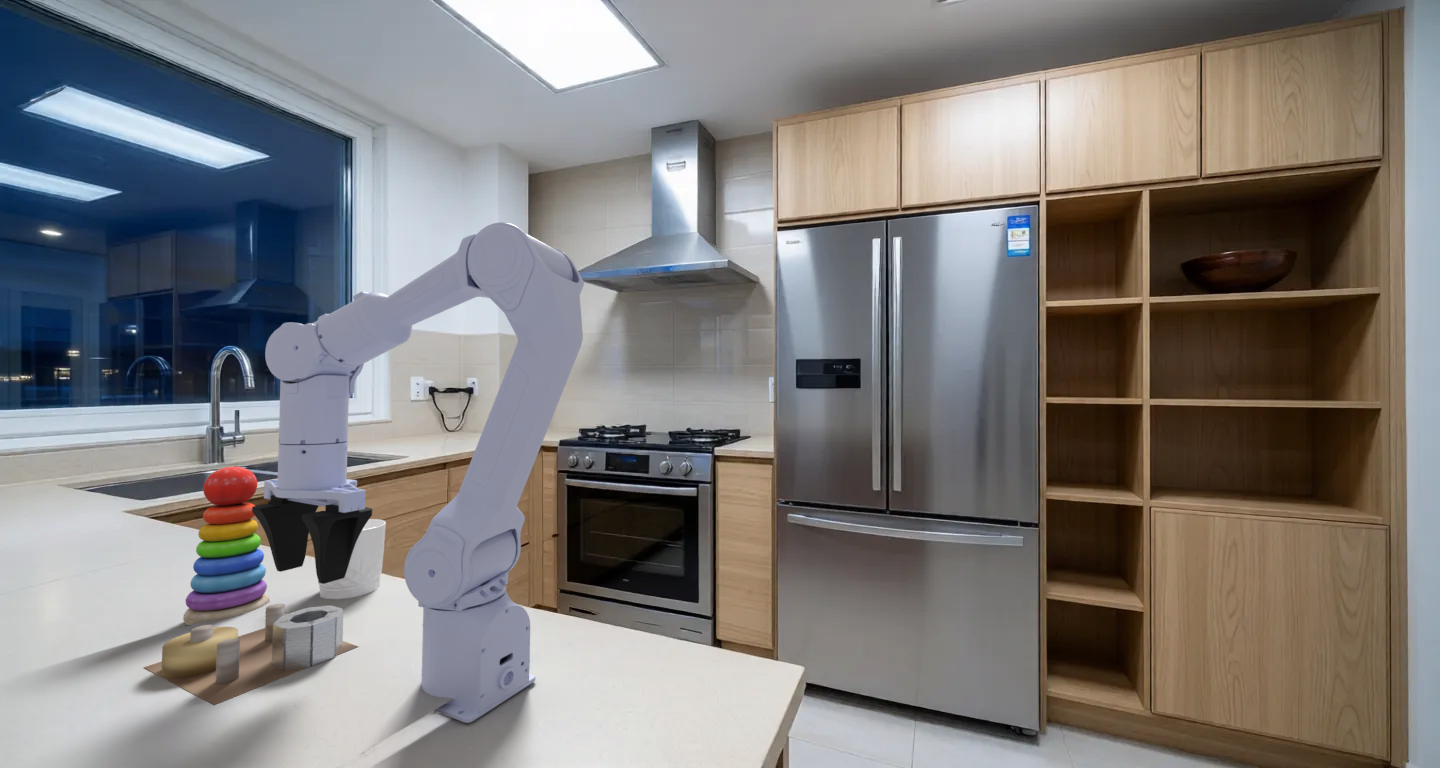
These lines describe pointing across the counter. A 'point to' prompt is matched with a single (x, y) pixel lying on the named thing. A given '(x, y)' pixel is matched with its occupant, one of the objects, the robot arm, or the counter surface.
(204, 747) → the counter surface
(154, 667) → the board
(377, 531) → the white cup
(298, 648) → the gear ring
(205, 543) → the stacking toy
